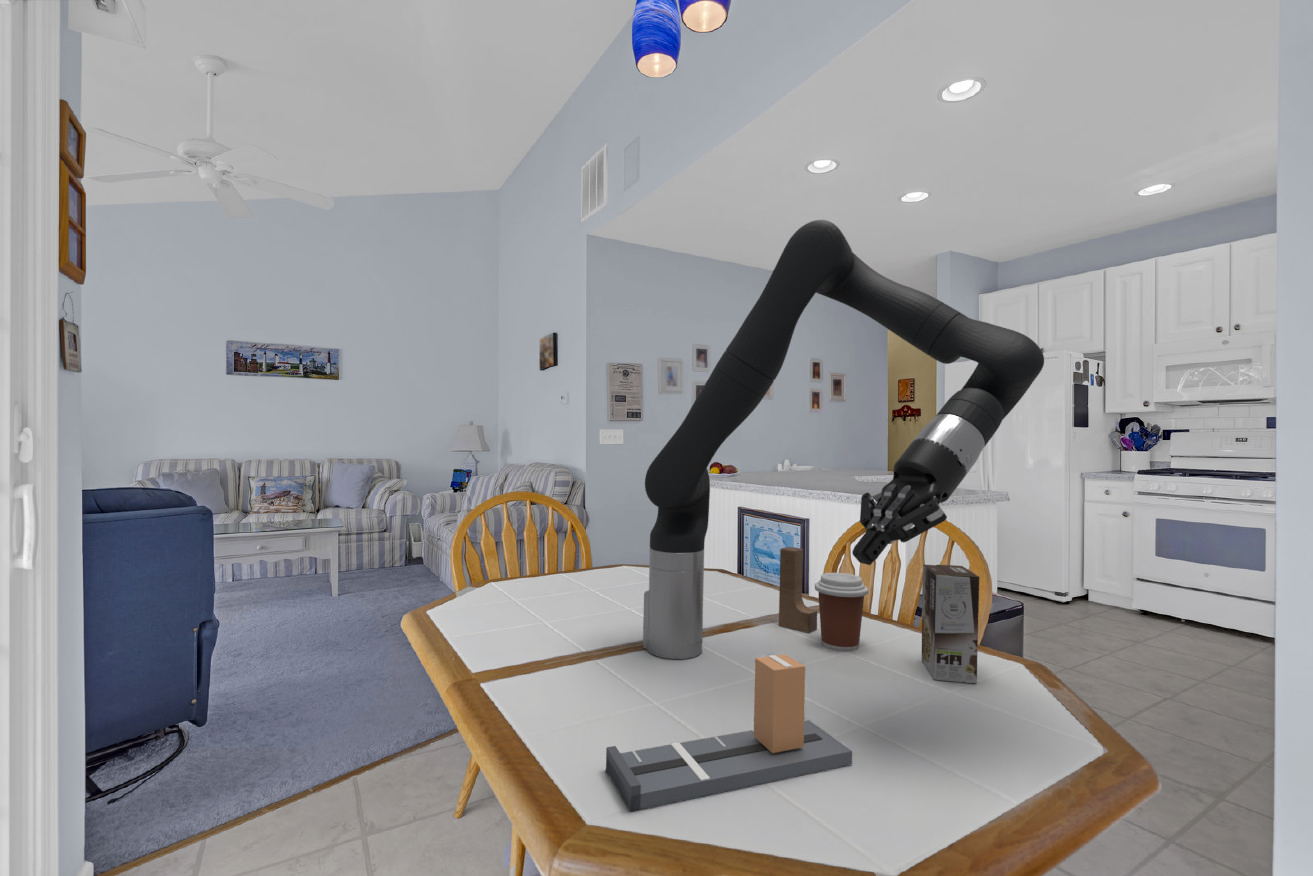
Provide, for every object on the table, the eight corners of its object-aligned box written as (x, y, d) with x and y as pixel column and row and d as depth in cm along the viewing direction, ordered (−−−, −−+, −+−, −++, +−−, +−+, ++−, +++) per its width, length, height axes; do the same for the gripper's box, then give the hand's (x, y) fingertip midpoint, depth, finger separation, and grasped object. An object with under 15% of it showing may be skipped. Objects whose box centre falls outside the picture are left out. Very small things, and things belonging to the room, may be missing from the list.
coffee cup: (809, 648, 108) (811, 579, 108) (817, 633, 116) (818, 569, 116) (865, 656, 104) (866, 585, 104) (868, 640, 113) (870, 574, 113)
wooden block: (778, 626, 120) (779, 548, 120) (786, 622, 123) (788, 546, 123) (809, 633, 116) (810, 553, 116) (817, 629, 118) (819, 550, 118)
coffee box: (978, 684, 93) (981, 576, 93) (932, 680, 94) (935, 574, 94) (961, 663, 102) (963, 564, 102) (919, 659, 103) (921, 562, 103)
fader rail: (630, 811, 60) (630, 786, 60) (605, 769, 67) (606, 747, 67) (851, 764, 69) (852, 743, 69) (808, 732, 77) (809, 712, 77)
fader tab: (772, 753, 68) (774, 669, 68) (753, 736, 71) (755, 656, 71) (803, 747, 69) (805, 664, 69) (783, 731, 73) (785, 653, 73)
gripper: (885, 436, 85) (809, 530, 80) (966, 436, 72) (881, 547, 68) (915, 475, 87) (842, 569, 82) (999, 481, 74) (918, 592, 70)
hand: (860, 559), depth 75 cm, fingers closed
